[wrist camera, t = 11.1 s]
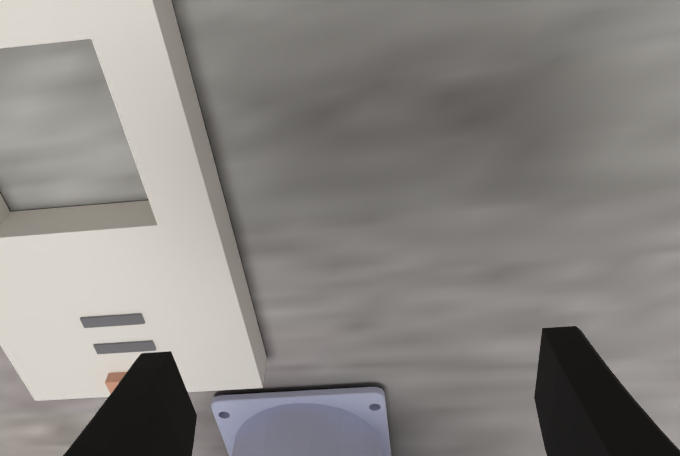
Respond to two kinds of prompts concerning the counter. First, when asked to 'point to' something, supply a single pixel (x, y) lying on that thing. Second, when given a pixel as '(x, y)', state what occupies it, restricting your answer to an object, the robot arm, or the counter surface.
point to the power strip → (128, 229)
